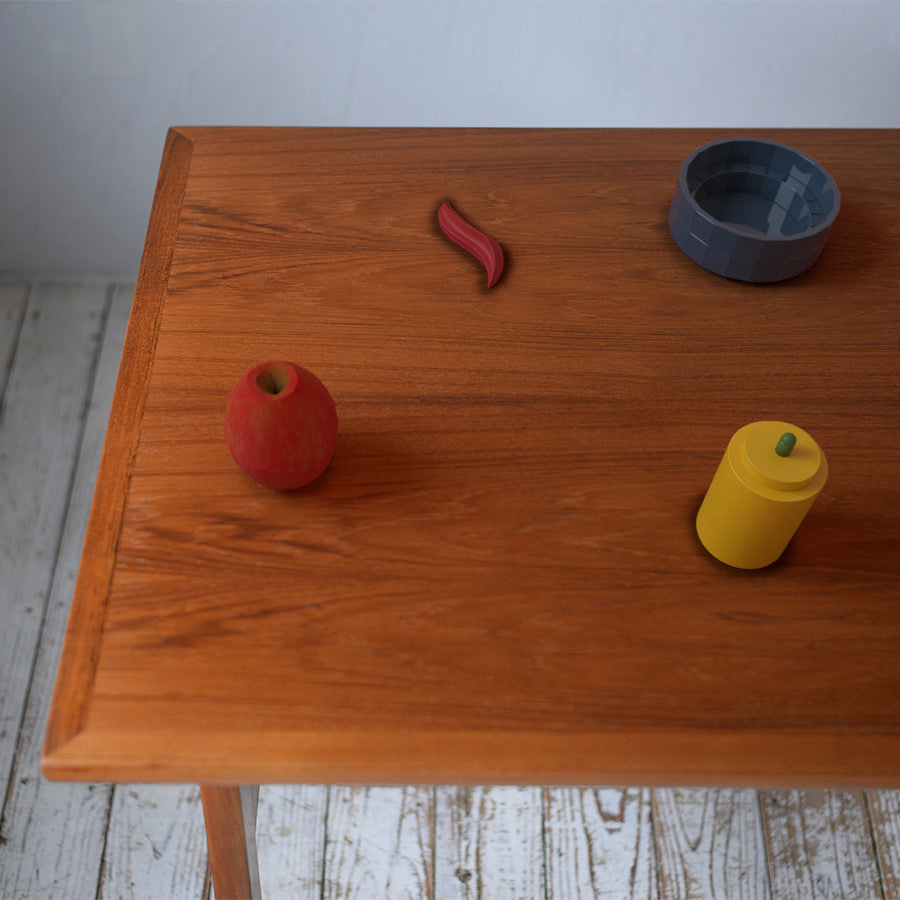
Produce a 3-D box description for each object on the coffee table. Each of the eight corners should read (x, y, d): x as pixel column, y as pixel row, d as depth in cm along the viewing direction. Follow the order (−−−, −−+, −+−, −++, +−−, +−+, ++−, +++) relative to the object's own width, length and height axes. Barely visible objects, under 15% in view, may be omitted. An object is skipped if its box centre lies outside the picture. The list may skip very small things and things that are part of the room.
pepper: (788, 504, 73) (845, 408, 63) (782, 579, 69) (841, 489, 60) (701, 483, 74) (744, 386, 64) (690, 556, 70) (734, 463, 60)
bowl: (822, 201, 94) (843, 154, 89) (815, 301, 86) (837, 255, 81) (677, 172, 96) (690, 124, 91) (656, 267, 87) (669, 220, 83)
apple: (313, 405, 77) (301, 311, 68) (361, 480, 73) (354, 389, 64) (217, 446, 74) (191, 353, 66) (261, 526, 70) (240, 438, 62)
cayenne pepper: (513, 284, 86) (515, 268, 84) (462, 292, 85) (463, 276, 83) (479, 197, 92) (480, 181, 91) (432, 204, 92) (432, 187, 90)
